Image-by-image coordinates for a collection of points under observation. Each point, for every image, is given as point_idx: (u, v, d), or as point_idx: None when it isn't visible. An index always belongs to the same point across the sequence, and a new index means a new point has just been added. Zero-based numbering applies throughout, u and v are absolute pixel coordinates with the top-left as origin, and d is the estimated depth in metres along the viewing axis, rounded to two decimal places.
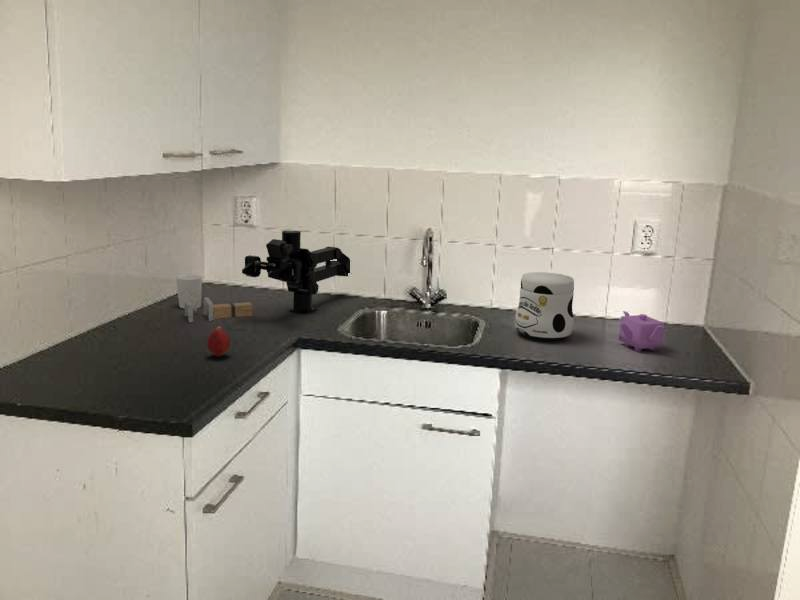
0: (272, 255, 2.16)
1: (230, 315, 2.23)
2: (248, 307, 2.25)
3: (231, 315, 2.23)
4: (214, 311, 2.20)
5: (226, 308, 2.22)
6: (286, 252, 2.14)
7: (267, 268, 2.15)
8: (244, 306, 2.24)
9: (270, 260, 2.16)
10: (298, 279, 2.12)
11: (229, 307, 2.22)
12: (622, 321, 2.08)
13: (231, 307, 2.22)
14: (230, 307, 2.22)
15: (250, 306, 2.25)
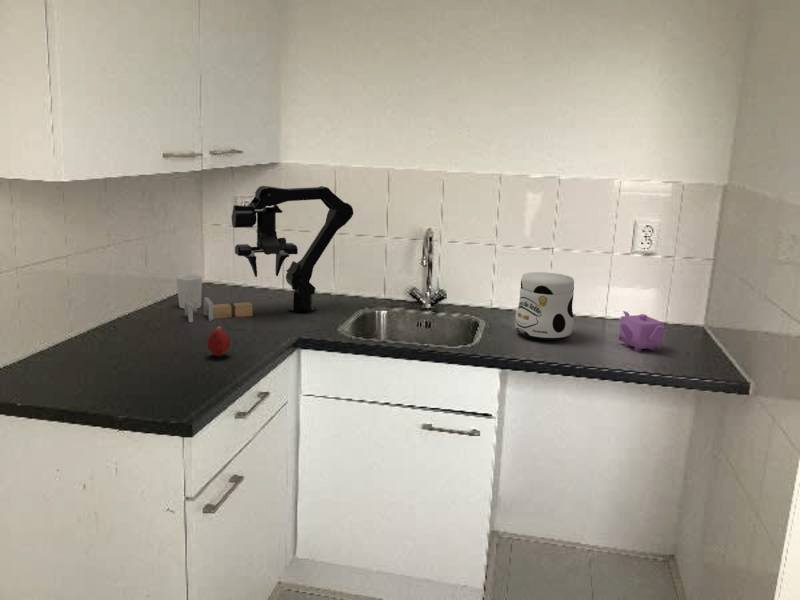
0: None
1: (230, 315, 2.23)
2: (248, 307, 2.25)
3: (231, 315, 2.23)
4: (214, 311, 2.20)
5: (226, 308, 2.22)
6: None
7: None
8: (244, 306, 2.24)
9: None
10: None
11: (229, 307, 2.22)
12: (622, 321, 2.08)
13: (231, 307, 2.22)
14: (230, 307, 2.22)
15: (250, 306, 2.25)
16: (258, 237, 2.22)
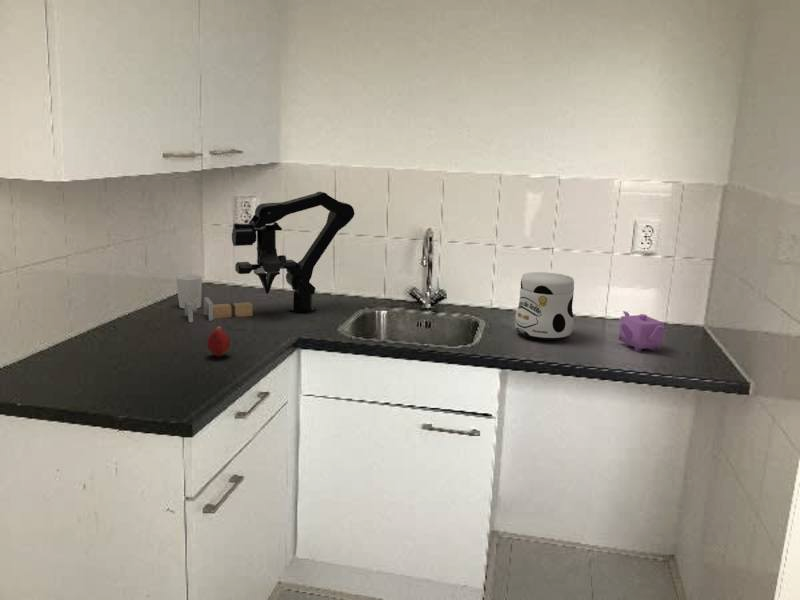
0: None
1: (230, 315, 2.23)
2: (248, 307, 2.25)
3: (231, 315, 2.23)
4: (214, 311, 2.20)
5: (226, 308, 2.22)
6: None
7: None
8: (244, 306, 2.24)
9: None
10: None
11: (229, 307, 2.22)
12: (622, 321, 2.08)
13: (231, 307, 2.22)
14: (230, 307, 2.22)
15: (250, 306, 2.25)
16: (258, 255, 2.23)
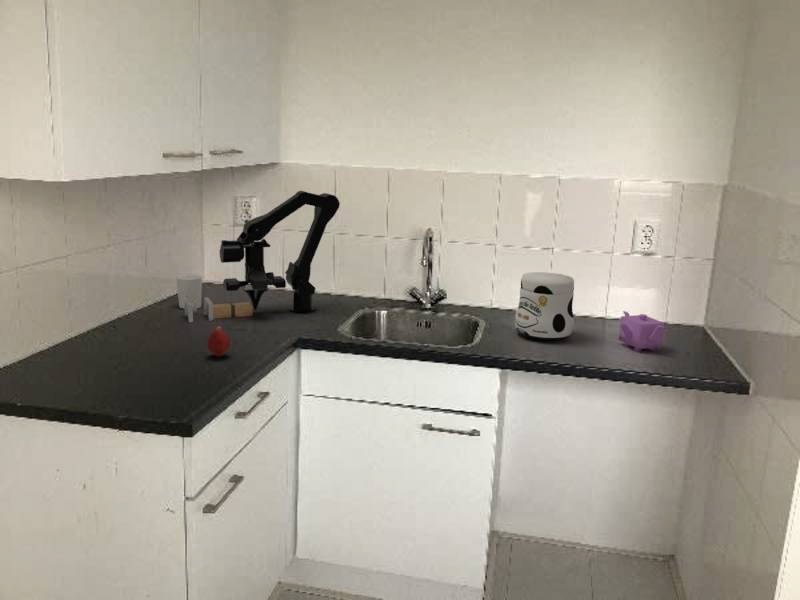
0: None
1: (230, 315, 2.23)
2: (248, 307, 2.24)
3: (231, 315, 2.23)
4: (214, 311, 2.20)
5: (226, 308, 2.22)
6: None
7: None
8: (244, 306, 2.24)
9: None
10: None
11: (229, 307, 2.22)
12: (622, 321, 2.08)
13: (231, 307, 2.22)
14: (230, 307, 2.22)
15: (250, 306, 2.25)
16: (246, 271, 2.23)
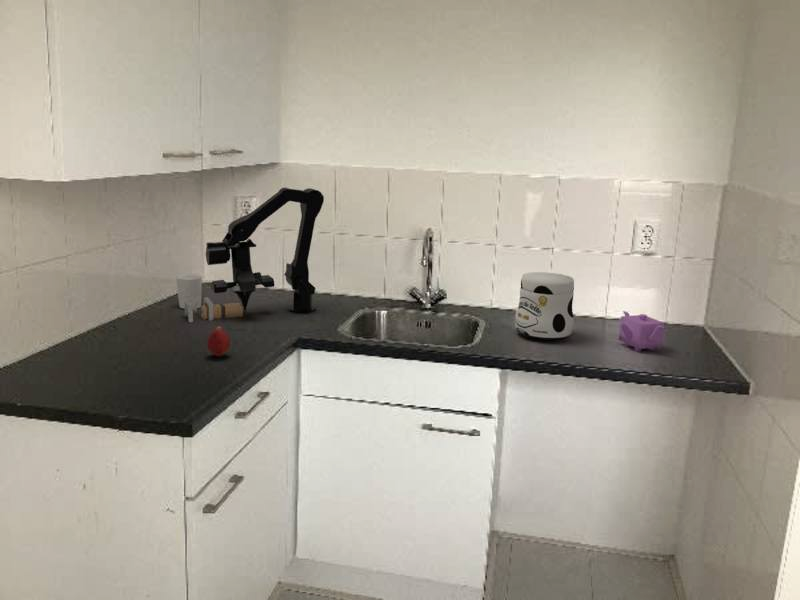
0: None
1: (220, 316, 2.21)
2: (238, 308, 2.23)
3: (221, 316, 2.21)
4: (204, 312, 2.19)
5: (216, 309, 2.20)
6: None
7: None
8: (234, 307, 2.23)
9: None
10: None
11: (219, 308, 2.21)
12: (622, 321, 2.08)
13: (221, 308, 2.21)
14: (220, 308, 2.21)
15: (240, 307, 2.23)
16: (233, 272, 2.21)
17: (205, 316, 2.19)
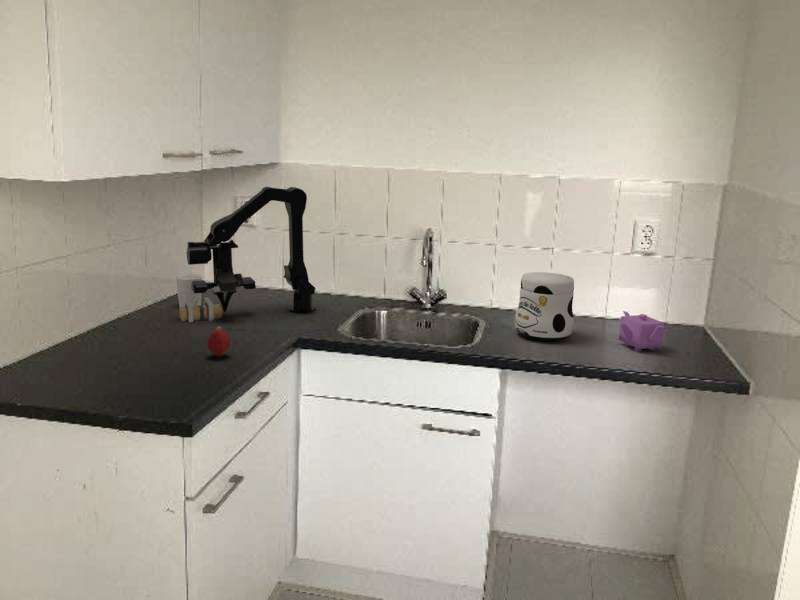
0: None
1: (199, 317, 2.19)
2: (217, 309, 2.21)
3: (200, 317, 2.19)
4: (182, 313, 2.16)
5: (194, 310, 2.18)
6: None
7: None
8: (213, 308, 2.20)
9: None
10: None
11: (198, 309, 2.18)
12: (622, 321, 2.08)
13: (200, 309, 2.18)
14: (199, 309, 2.18)
15: (219, 308, 2.21)
16: (214, 273, 2.19)
17: (183, 318, 2.17)
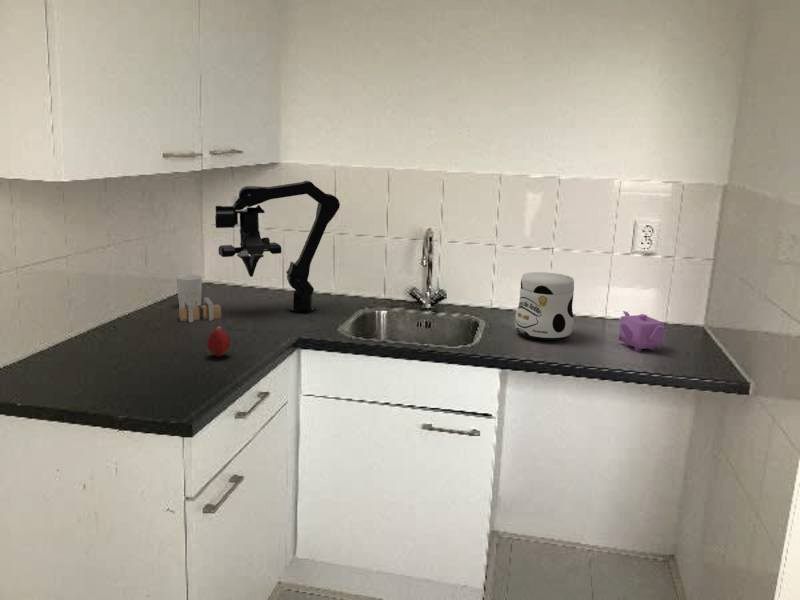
0: None
1: (198, 317, 2.19)
2: (217, 309, 2.21)
3: (199, 317, 2.19)
4: (181, 314, 2.16)
5: (194, 310, 2.17)
6: None
7: None
8: None
9: None
10: None
11: (197, 309, 2.18)
12: (622, 321, 2.08)
13: (199, 309, 2.18)
14: (198, 309, 2.18)
15: (219, 308, 2.21)
16: (241, 237, 2.22)
17: (183, 318, 2.16)
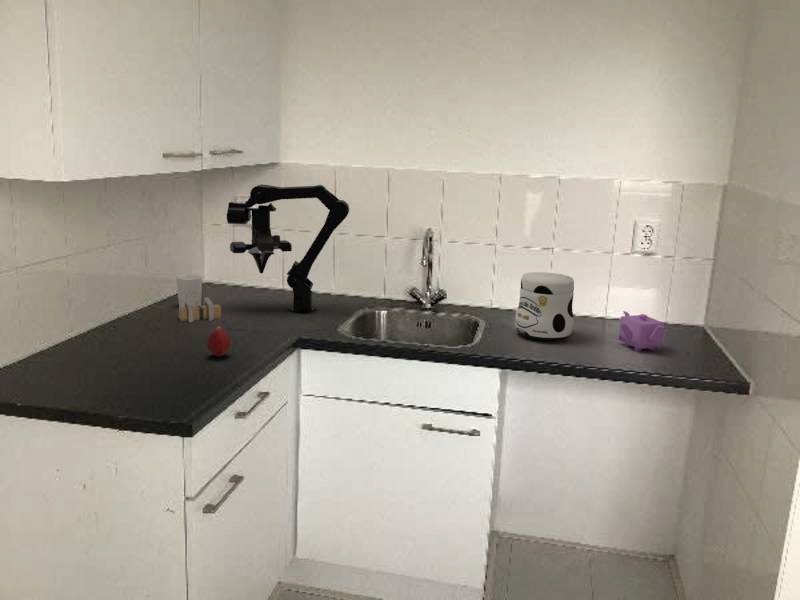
0: None
1: (198, 317, 2.19)
2: (217, 309, 2.21)
3: (199, 317, 2.19)
4: (181, 314, 2.16)
5: (194, 310, 2.17)
6: None
7: None
8: None
9: None
10: None
11: (197, 309, 2.18)
12: (622, 321, 2.08)
13: (199, 309, 2.18)
14: (198, 309, 2.18)
15: (219, 308, 2.21)
16: (253, 235, 2.26)
17: (183, 318, 2.16)
